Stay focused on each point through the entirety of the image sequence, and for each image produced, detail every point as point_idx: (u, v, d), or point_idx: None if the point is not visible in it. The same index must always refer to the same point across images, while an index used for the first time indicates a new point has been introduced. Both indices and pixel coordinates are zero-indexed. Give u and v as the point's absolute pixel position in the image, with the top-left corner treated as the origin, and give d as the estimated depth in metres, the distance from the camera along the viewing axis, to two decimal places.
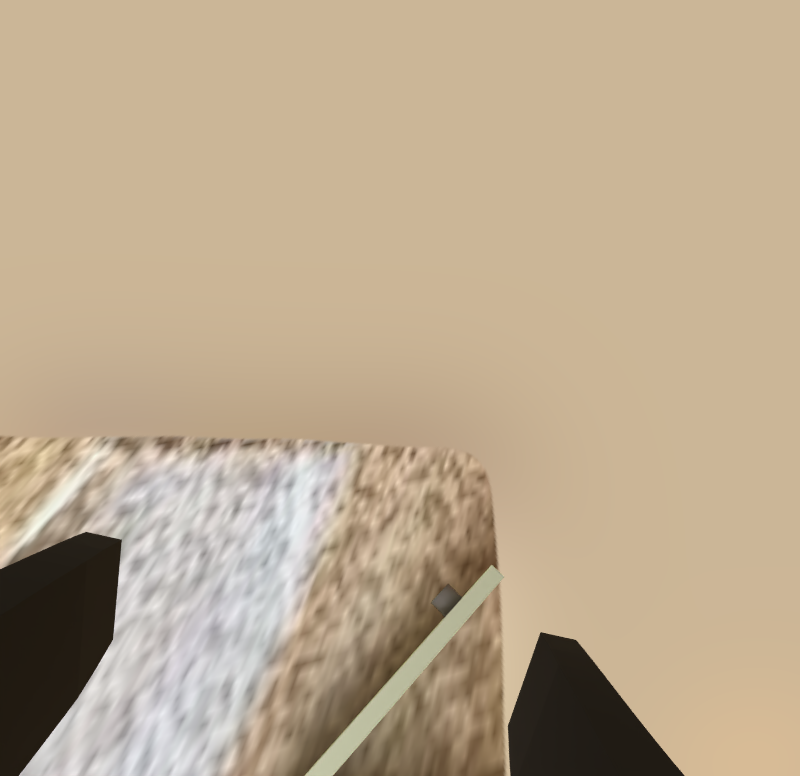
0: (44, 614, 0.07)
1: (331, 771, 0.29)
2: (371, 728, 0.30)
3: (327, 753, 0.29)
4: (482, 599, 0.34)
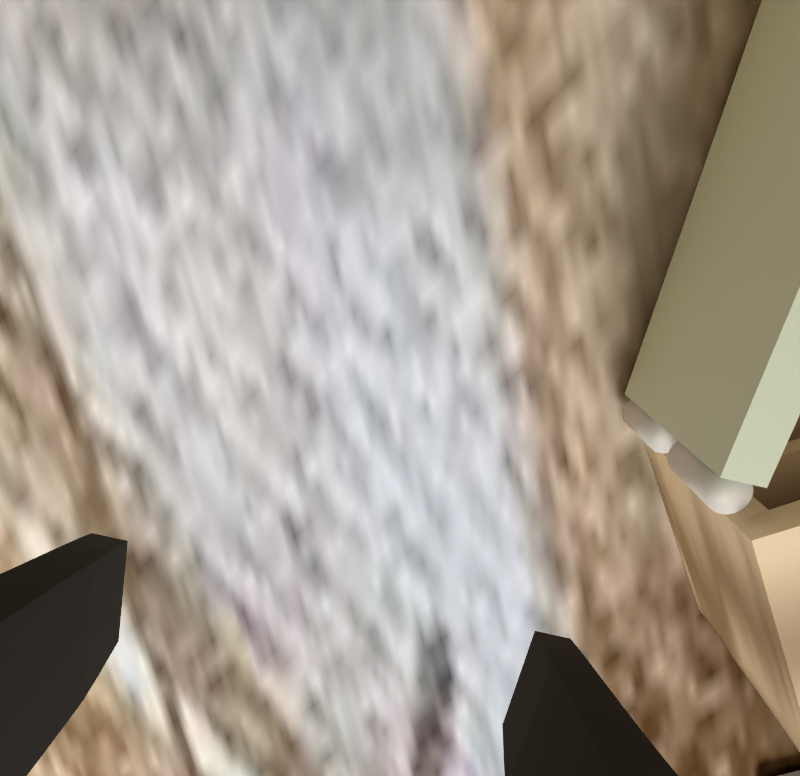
0: (51, 616, 0.07)
1: None
2: None
3: None
4: None
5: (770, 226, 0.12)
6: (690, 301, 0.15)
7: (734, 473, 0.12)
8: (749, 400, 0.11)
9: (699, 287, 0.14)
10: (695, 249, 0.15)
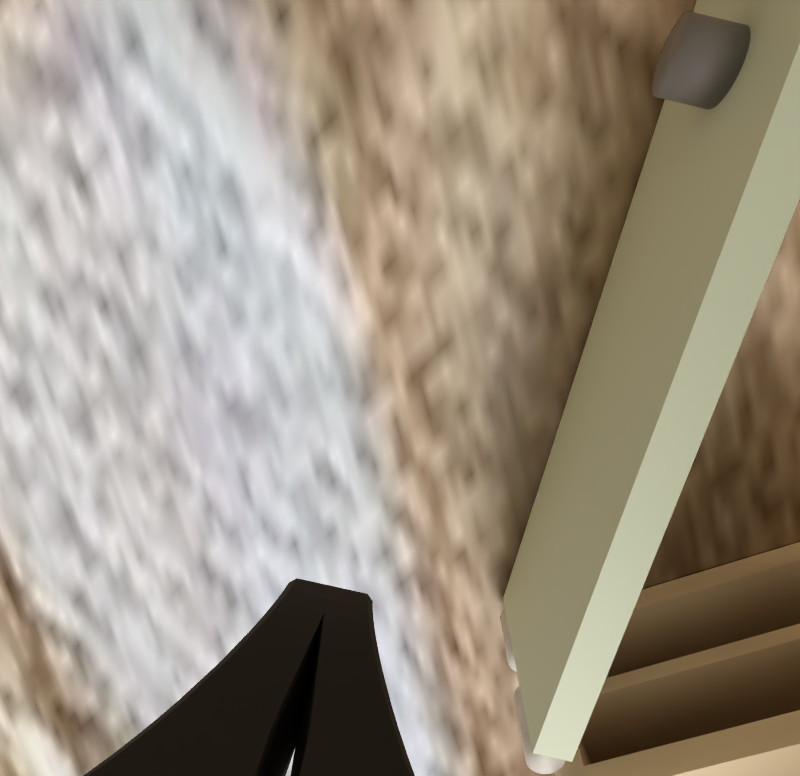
0: (302, 672, 0.08)
1: (634, 584, 0.13)
2: (683, 476, 0.12)
3: (608, 564, 0.12)
4: None
5: (578, 538, 0.14)
6: (539, 553, 0.17)
7: (544, 750, 0.14)
8: (552, 696, 0.14)
9: (545, 545, 0.17)
10: (547, 502, 0.17)
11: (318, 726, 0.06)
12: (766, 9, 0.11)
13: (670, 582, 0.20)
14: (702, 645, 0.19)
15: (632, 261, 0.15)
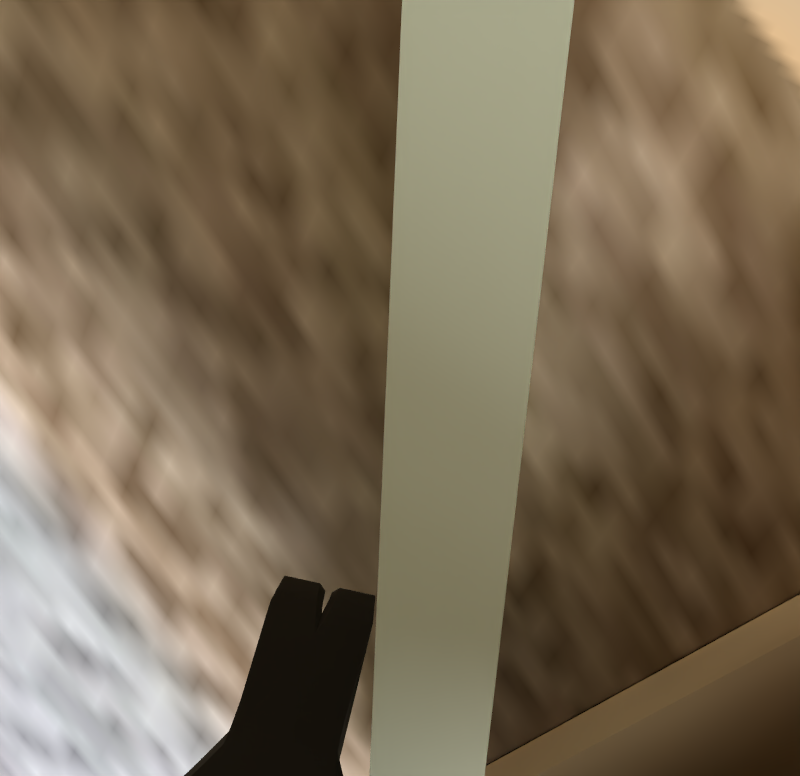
0: (357, 683, 0.08)
1: None
2: (483, 705, 0.05)
3: None
4: None
5: None
6: None
7: None
8: None
9: None
10: None
11: (246, 710, 0.06)
12: None
13: (634, 687, 0.12)
14: None
15: None
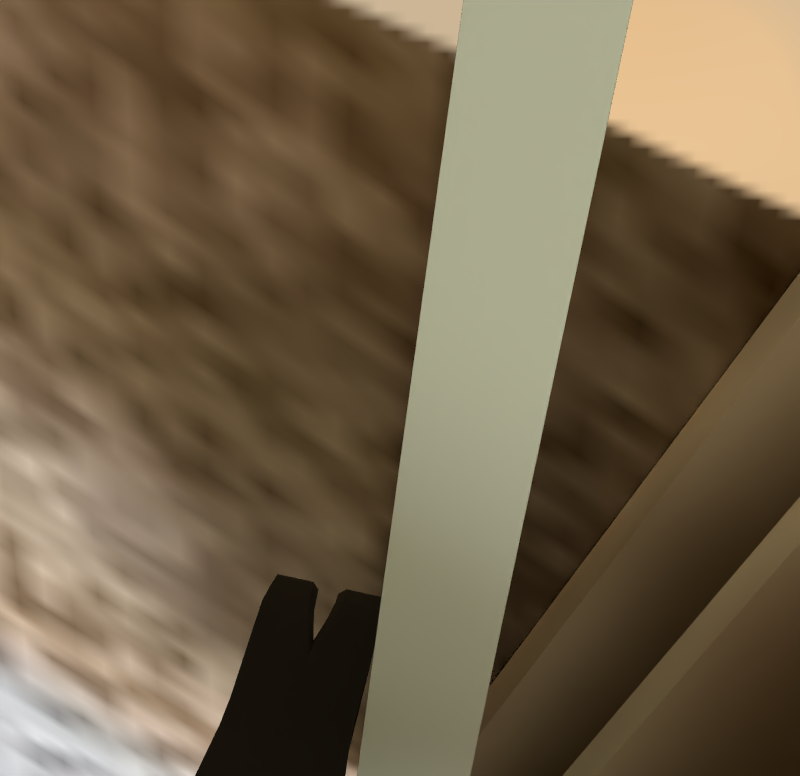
0: (364, 684, 0.08)
1: None
2: (472, 718, 0.05)
3: None
4: None
5: None
6: None
7: None
8: None
9: None
10: None
11: (235, 708, 0.06)
12: None
13: (541, 622, 0.12)
14: None
15: None
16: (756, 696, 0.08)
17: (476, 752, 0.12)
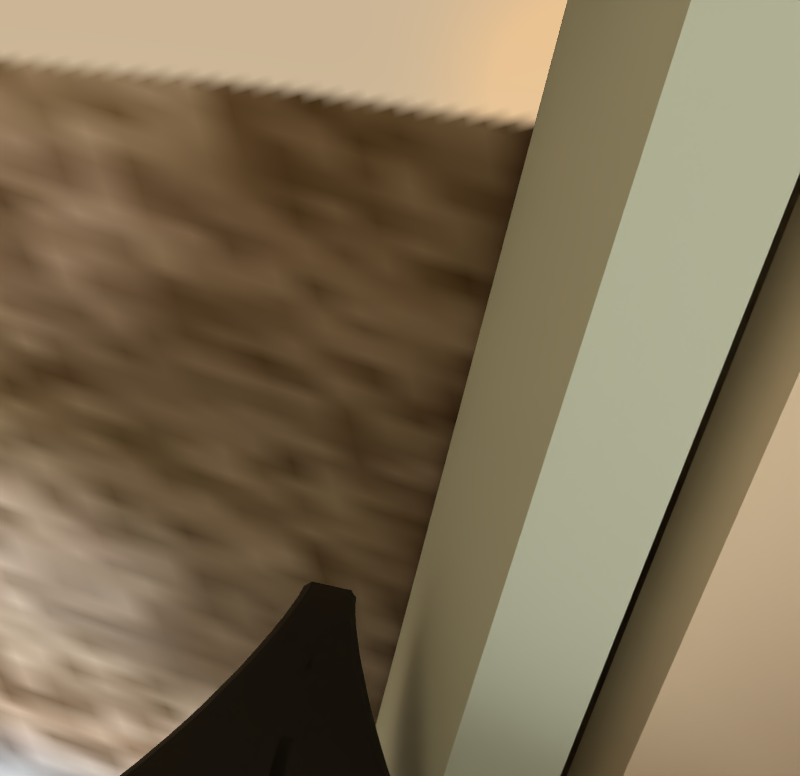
0: None
1: None
2: (561, 746, 0.05)
3: None
4: None
5: None
6: (386, 738, 0.10)
7: None
8: None
9: (389, 730, 0.10)
10: (404, 649, 0.10)
11: (293, 720, 0.06)
12: None
13: None
14: None
15: (515, 248, 0.08)
16: None
17: None
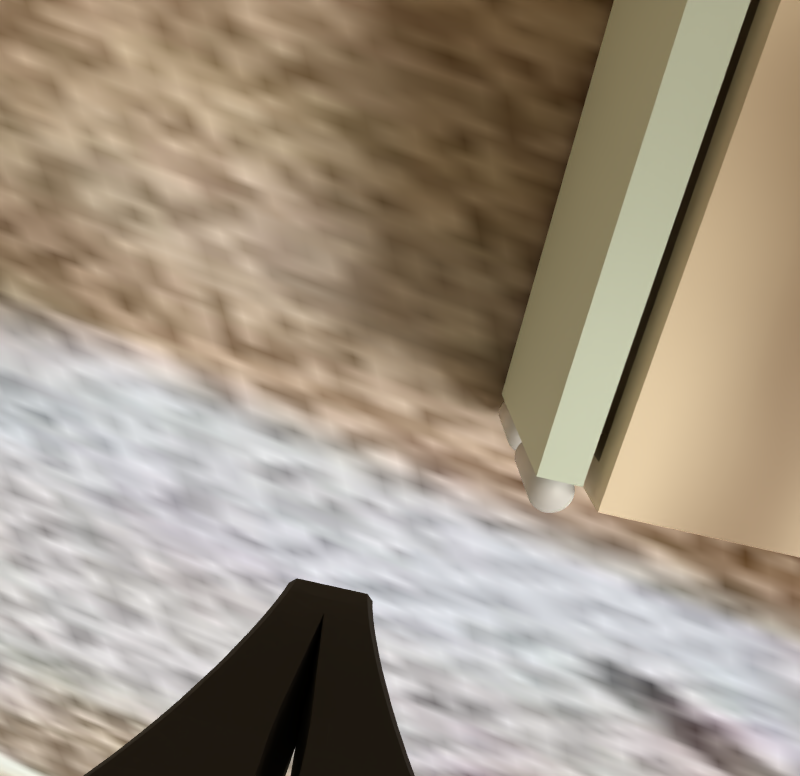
0: (303, 672, 0.08)
1: (658, 236, 0.10)
2: (719, 77, 0.10)
3: (627, 207, 0.10)
4: None
5: (589, 229, 0.12)
6: (543, 303, 0.15)
7: (550, 472, 0.12)
8: (559, 399, 0.12)
9: (549, 288, 0.15)
10: (551, 251, 0.15)
11: (318, 726, 0.06)
12: None
13: None
14: None
15: None
16: None
17: None
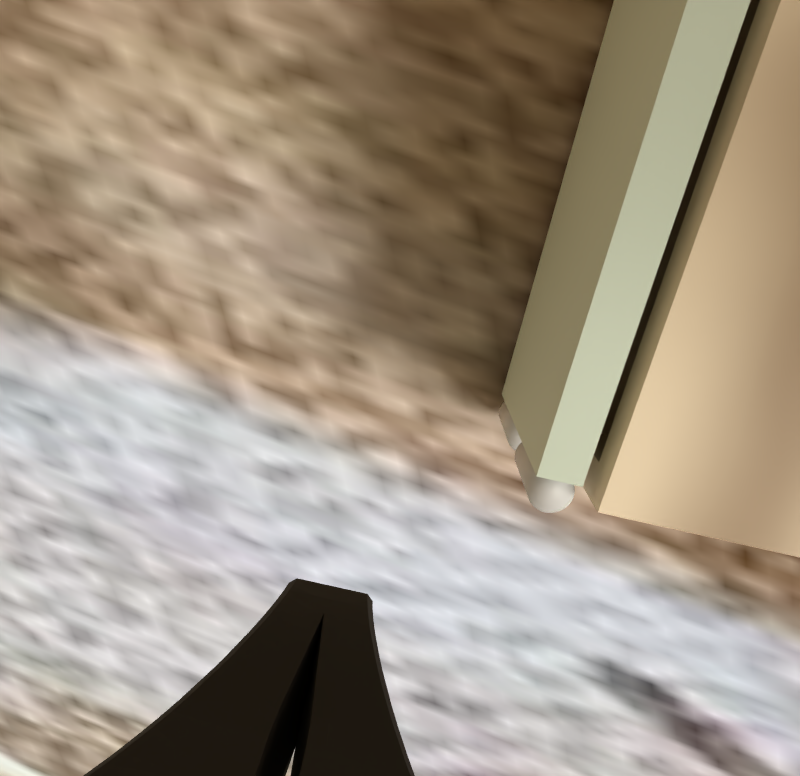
0: (303, 672, 0.08)
1: (658, 236, 0.10)
2: (719, 77, 0.10)
3: (627, 207, 0.10)
4: None
5: (589, 229, 0.12)
6: (543, 303, 0.15)
7: (550, 472, 0.12)
8: (559, 399, 0.12)
9: (549, 288, 0.15)
10: (551, 251, 0.15)
11: (318, 726, 0.06)
12: None
13: None
14: None
15: None
16: None
17: None
